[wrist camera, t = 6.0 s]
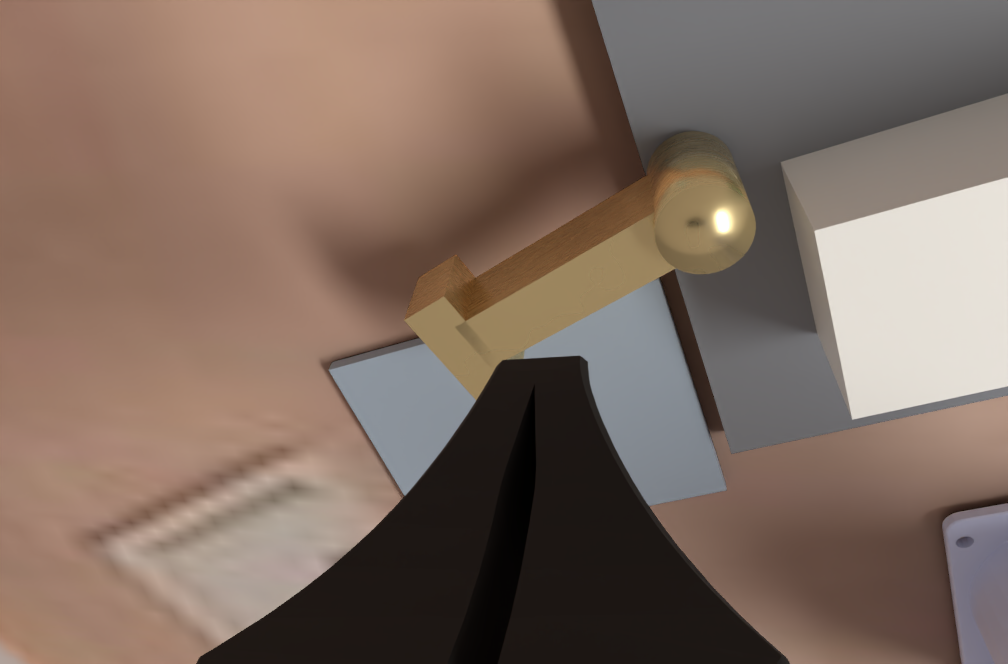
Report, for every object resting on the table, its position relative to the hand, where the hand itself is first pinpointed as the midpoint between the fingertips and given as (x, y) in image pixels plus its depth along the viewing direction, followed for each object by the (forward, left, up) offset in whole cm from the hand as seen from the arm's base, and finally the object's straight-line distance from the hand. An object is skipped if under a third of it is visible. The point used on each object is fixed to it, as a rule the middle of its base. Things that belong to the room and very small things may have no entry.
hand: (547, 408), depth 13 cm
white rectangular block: (-3, -9, -8) cm, 13 cm away
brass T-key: (-1, 0, -8) cm, 8 cm away
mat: (-7, +4, -9) cm, 12 cm away
